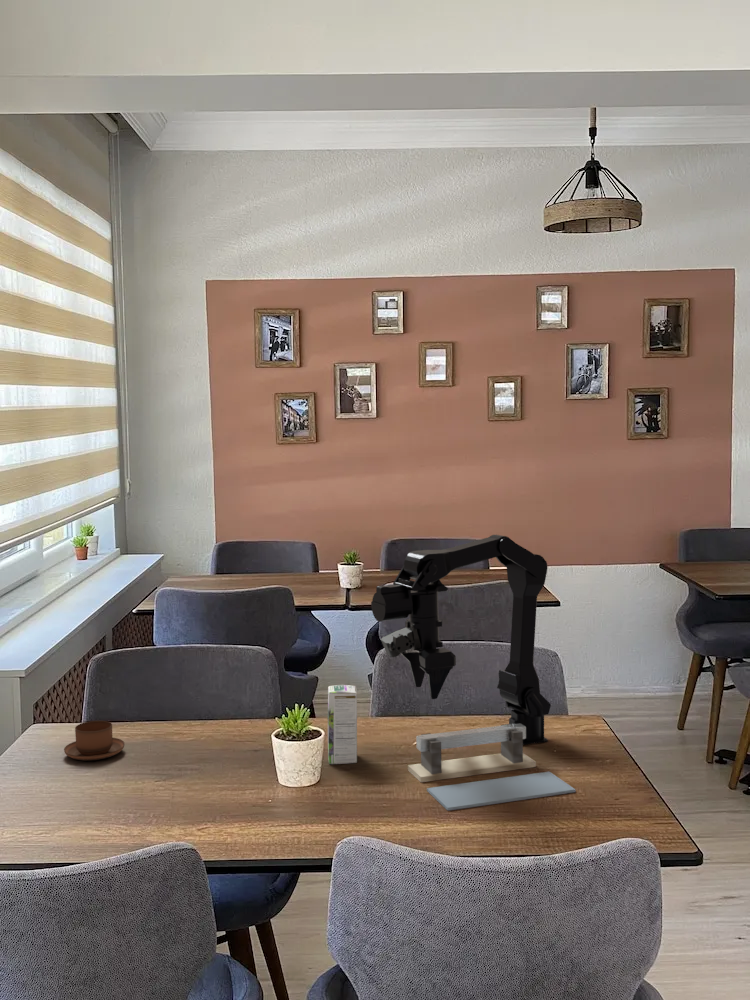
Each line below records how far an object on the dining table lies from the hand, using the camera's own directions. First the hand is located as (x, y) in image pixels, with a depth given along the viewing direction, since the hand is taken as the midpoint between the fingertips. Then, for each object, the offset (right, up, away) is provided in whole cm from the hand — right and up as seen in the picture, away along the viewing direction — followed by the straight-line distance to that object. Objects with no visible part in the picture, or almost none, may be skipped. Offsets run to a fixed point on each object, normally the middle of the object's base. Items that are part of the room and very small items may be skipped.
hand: (426, 692), depth 202 cm
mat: (+13, -15, -17) cm, 26 cm away
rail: (+9, -9, -5) cm, 13 cm away
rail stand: (+9, -14, -4) cm, 17 cm away
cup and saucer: (-68, -14, +7) cm, 70 cm away
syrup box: (-17, -14, +2) cm, 22 cm away
